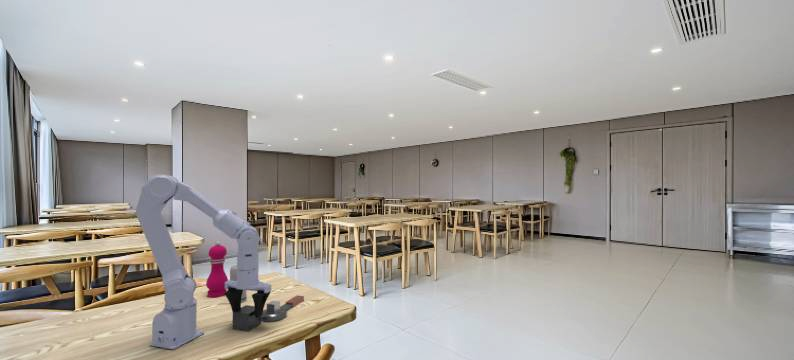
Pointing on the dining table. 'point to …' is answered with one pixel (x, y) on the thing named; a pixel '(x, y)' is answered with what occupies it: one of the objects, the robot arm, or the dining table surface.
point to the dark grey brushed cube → (245, 318)
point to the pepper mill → (217, 271)
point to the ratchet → (279, 309)
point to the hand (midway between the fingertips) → (247, 315)
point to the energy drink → (234, 278)
